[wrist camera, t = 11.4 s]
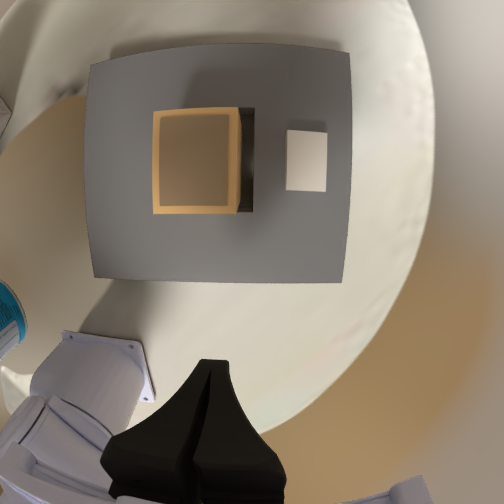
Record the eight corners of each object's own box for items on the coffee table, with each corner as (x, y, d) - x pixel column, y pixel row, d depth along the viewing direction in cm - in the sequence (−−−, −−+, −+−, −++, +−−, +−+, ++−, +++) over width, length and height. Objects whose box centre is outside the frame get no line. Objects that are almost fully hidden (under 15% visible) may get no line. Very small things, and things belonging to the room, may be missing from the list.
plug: (185, 198, 20) (152, 214, 13) (185, 129, 18) (152, 111, 11) (241, 198, 20) (235, 214, 13) (242, 128, 18) (237, 106, 11)
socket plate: (108, 266, 21) (89, 281, 18) (105, 73, 16) (85, 62, 13) (332, 270, 21) (345, 287, 18) (338, 64, 16) (353, 49, 13)
